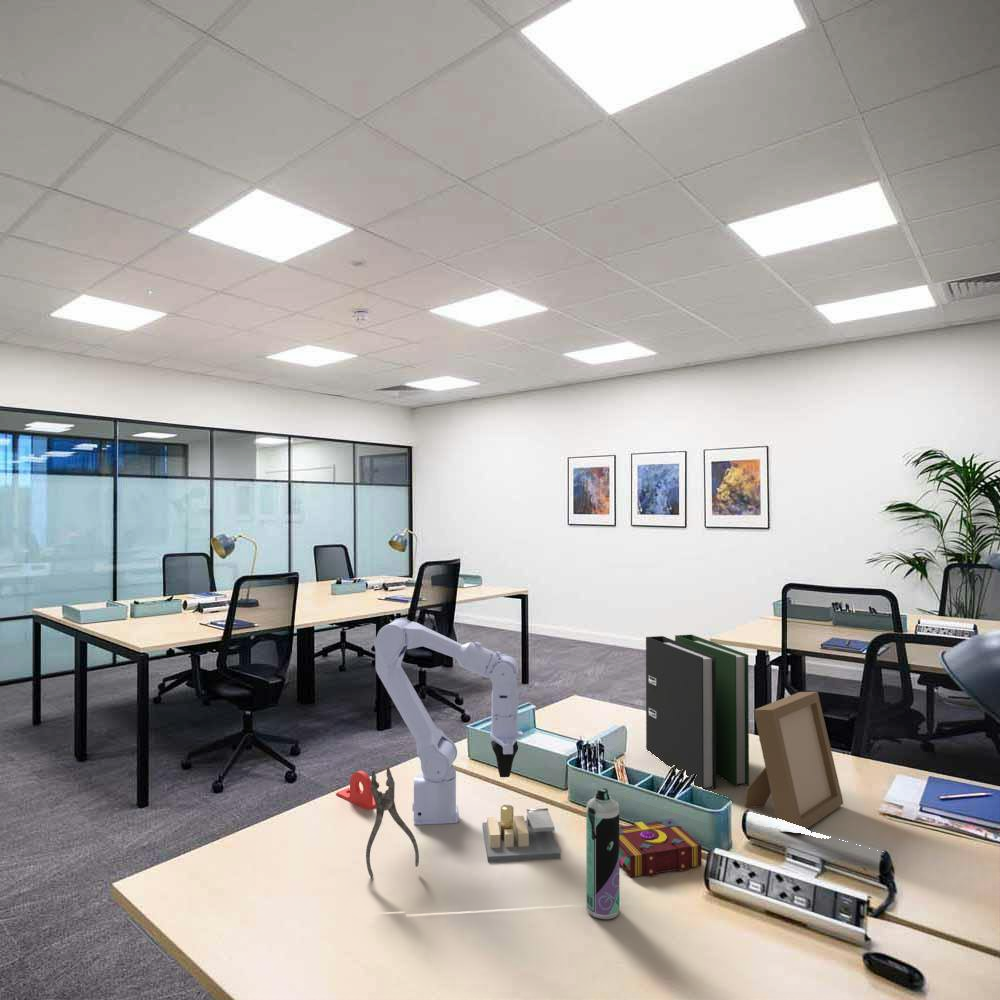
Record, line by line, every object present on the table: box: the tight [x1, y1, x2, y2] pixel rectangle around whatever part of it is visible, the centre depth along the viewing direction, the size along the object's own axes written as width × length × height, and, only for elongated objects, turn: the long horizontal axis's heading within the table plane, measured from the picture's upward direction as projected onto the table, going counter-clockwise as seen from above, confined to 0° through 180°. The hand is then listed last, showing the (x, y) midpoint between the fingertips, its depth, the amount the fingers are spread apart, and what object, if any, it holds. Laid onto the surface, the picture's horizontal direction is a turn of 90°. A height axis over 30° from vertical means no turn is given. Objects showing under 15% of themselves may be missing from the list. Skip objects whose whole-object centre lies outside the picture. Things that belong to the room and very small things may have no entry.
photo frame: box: [744, 691, 844, 829], centre depth 150 cm, size 15×22×25 cm
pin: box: [500, 804, 514, 840], centre depth 135 cm, size 3×3×6 cm
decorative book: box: [619, 818, 703, 878], centre depth 129 cm, size 11×16×5 cm
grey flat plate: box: [526, 808, 556, 832], centre depth 138 cm, size 4×8×1 cm, turn 6°
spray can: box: [585, 788, 620, 920], centre depth 113 cm, size 6×6×20 cm
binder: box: [645, 634, 750, 791], centre depth 174 cm, size 27×15×32 cm, turn 15°
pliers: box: [365, 765, 420, 879], centre depth 123 cm, size 10×1×20 cm, turn 101°
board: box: [481, 815, 561, 863], centre depth 135 cm, size 14×14×4 cm
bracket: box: [335, 770, 376, 811], centre depth 155 cm, size 12×4×8 cm, turn 49°
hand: (504, 776), depth 145 cm, fingers closed
